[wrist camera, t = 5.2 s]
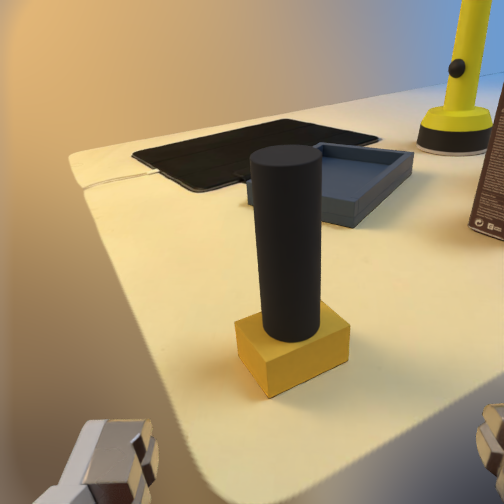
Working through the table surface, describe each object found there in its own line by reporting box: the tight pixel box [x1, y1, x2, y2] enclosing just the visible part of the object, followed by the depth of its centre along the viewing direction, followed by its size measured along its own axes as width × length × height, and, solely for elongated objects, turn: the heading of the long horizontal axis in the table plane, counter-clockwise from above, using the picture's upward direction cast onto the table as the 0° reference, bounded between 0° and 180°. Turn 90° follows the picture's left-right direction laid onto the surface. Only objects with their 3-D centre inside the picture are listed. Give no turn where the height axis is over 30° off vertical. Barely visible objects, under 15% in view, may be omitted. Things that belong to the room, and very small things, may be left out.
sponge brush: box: [234, 145, 350, 398], centre depth 20 cm, size 5×4×12 cm
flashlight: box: [416, 0, 493, 156], centre depth 48 cm, size 25×9×9 cm
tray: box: [246, 142, 414, 228], centre depth 43 cm, size 16×12×2 cm
